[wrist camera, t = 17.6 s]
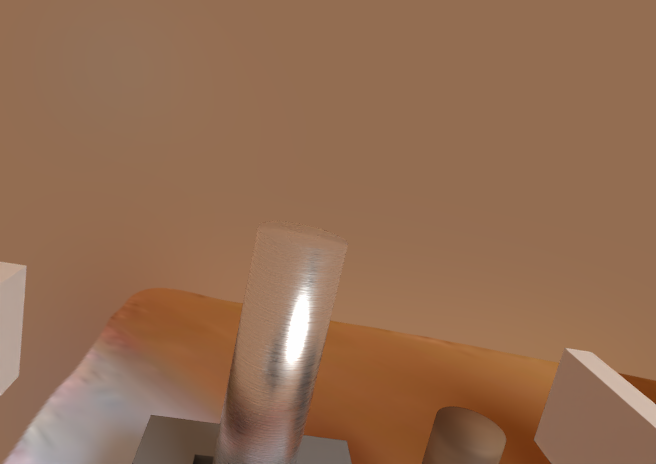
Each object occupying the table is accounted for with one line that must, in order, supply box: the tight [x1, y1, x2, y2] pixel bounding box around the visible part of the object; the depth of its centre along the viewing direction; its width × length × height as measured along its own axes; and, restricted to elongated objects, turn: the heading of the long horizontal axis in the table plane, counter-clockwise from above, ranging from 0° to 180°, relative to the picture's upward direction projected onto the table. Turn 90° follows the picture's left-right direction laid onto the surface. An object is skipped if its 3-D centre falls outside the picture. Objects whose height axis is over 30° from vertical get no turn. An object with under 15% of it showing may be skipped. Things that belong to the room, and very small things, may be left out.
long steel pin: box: [212, 221, 348, 464], centre depth 25 cm, size 4×4×20 cm
